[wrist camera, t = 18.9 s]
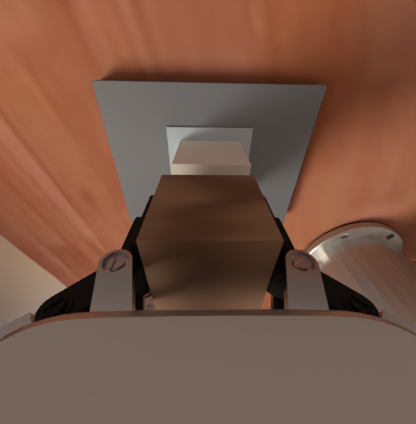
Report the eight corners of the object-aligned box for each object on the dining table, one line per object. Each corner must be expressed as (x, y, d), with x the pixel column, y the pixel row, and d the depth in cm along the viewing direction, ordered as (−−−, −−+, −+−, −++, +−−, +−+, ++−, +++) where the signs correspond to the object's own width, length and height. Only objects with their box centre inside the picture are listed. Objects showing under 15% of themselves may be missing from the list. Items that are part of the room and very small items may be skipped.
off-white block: (240, 141, 16) (251, 165, 12) (234, 192, 19) (241, 225, 15) (180, 140, 16) (171, 163, 12) (183, 192, 19) (177, 224, 15)
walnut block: (253, 175, 11) (283, 240, 7) (242, 240, 14) (258, 313, 10) (161, 174, 11) (136, 240, 7) (170, 240, 14) (156, 313, 10)
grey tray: (317, 84, 15) (328, 85, 14) (279, 215, 23) (283, 224, 22) (101, 79, 15) (90, 80, 14) (135, 213, 23) (130, 222, 21)
